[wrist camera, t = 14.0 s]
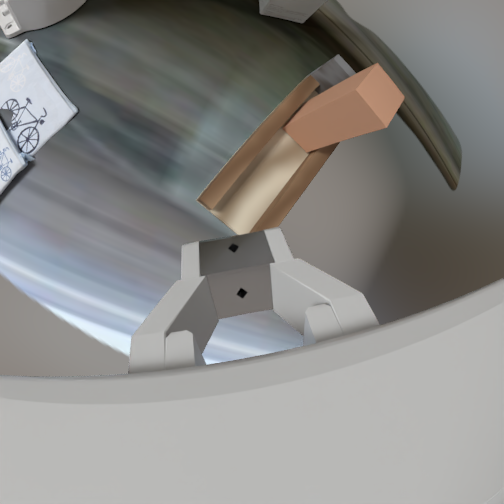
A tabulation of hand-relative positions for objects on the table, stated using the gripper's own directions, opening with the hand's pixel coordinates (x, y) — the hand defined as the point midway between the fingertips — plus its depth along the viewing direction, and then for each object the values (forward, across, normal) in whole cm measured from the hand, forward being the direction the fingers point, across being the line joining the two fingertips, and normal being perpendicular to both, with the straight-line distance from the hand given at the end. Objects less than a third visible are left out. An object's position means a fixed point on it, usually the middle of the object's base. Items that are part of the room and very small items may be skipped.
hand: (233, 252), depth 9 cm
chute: (+31, -9, +9) cm, 34 cm away
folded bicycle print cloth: (+29, +29, -6) cm, 41 cm away
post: (+34, -13, +7) cm, 37 cm away
